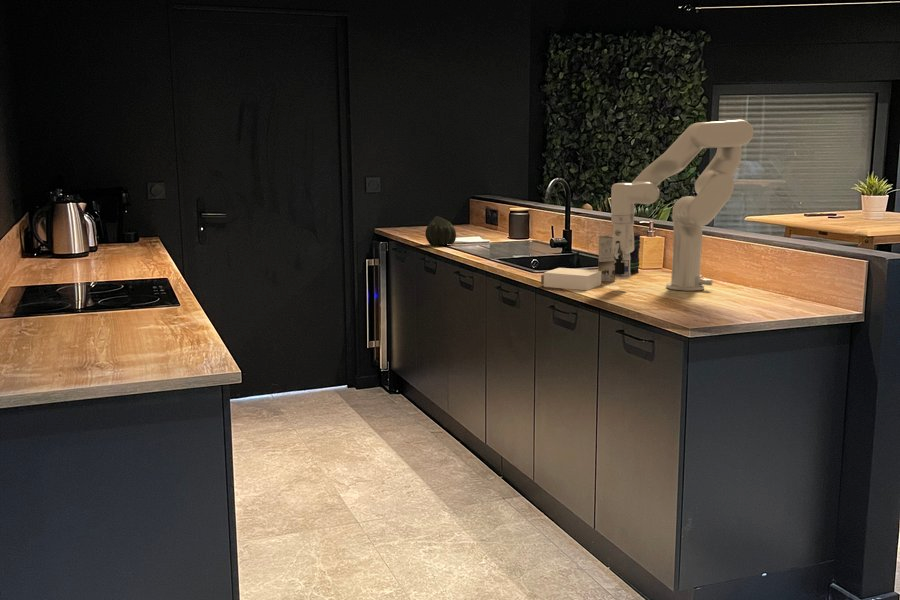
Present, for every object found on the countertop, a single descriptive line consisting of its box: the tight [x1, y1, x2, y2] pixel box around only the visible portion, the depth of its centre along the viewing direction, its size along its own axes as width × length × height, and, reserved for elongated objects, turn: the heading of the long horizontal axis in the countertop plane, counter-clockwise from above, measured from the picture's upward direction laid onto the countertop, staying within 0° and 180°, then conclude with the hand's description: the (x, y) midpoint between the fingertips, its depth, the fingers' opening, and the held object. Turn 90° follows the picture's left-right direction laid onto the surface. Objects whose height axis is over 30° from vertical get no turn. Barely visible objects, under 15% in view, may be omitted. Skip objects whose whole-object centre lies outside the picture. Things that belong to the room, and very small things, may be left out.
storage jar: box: [630, 232, 641, 275], centre depth 336 cm, size 10×10×15 cm
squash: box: [424, 215, 457, 247], centre depth 426 cm, size 14×15×15 cm
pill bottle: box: [615, 252, 632, 280], centre depth 295 cm, size 5×5×10 cm
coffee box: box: [597, 234, 616, 283], centre depth 316 cm, size 9×6×16 cm
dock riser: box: [540, 267, 602, 291], centre depth 304 cm, size 17×14×5 cm
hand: (622, 272), depth 295 cm, fingers closed on pill bottle, 5 cm apart
